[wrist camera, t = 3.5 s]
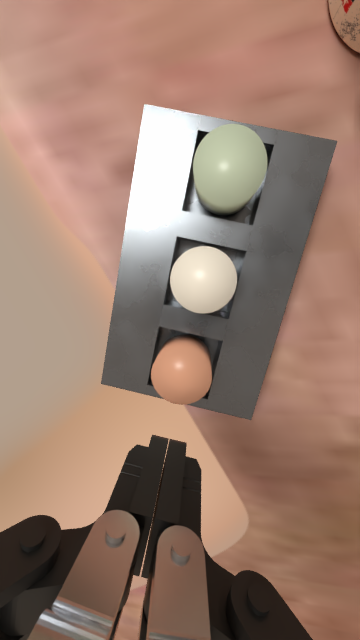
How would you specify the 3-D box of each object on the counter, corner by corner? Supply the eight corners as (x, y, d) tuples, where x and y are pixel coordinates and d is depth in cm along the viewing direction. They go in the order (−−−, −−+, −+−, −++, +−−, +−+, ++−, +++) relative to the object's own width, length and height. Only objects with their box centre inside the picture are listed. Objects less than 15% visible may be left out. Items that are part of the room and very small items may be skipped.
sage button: (202, 144, 19) (202, 117, 15) (263, 156, 18) (276, 131, 15) (189, 208, 20) (186, 197, 16) (246, 220, 19) (256, 211, 16)
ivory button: (182, 243, 20) (177, 239, 17) (237, 255, 20) (244, 254, 17) (170, 298, 21) (164, 305, 18) (223, 310, 21) (227, 319, 17)
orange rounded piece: (164, 329, 22) (157, 341, 18) (216, 341, 21) (218, 355, 18) (154, 376, 23) (146, 396, 19) (204, 388, 22) (204, 410, 19)
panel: (152, 126, 20) (144, 104, 17) (317, 159, 20) (337, 141, 17) (113, 369, 25) (101, 383, 22) (245, 401, 25) (250, 420, 22)
